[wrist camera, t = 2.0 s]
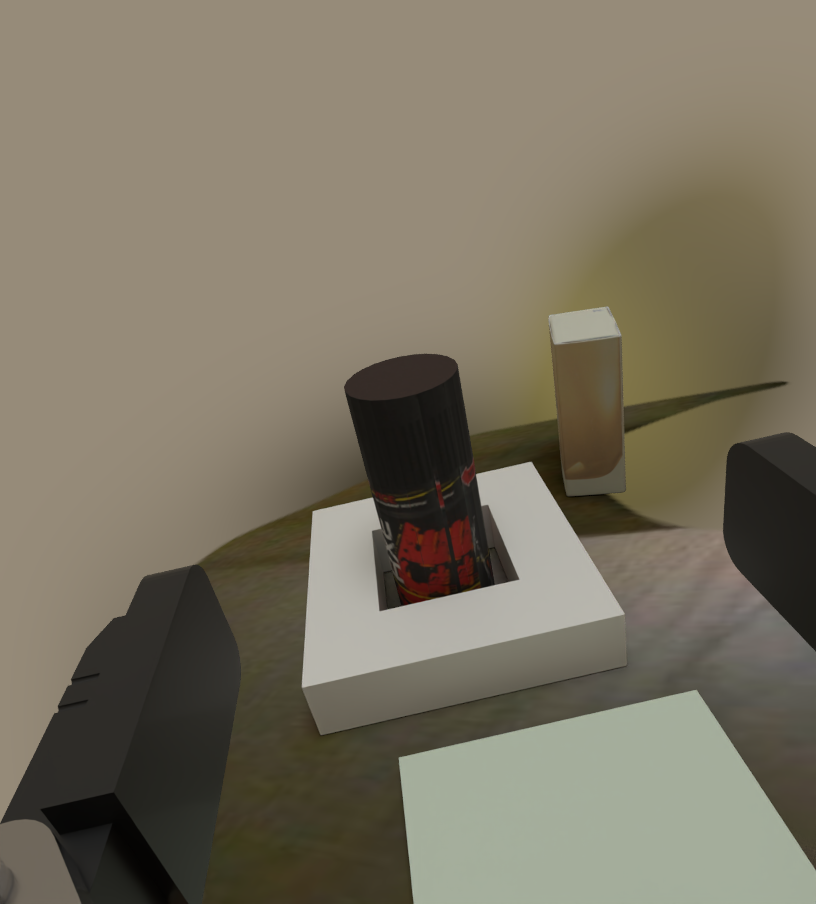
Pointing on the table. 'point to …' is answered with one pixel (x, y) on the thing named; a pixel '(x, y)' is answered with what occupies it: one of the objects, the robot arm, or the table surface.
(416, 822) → the mat
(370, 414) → the deodorant
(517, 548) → the socket block
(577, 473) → the skincare box
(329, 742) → the table surface
